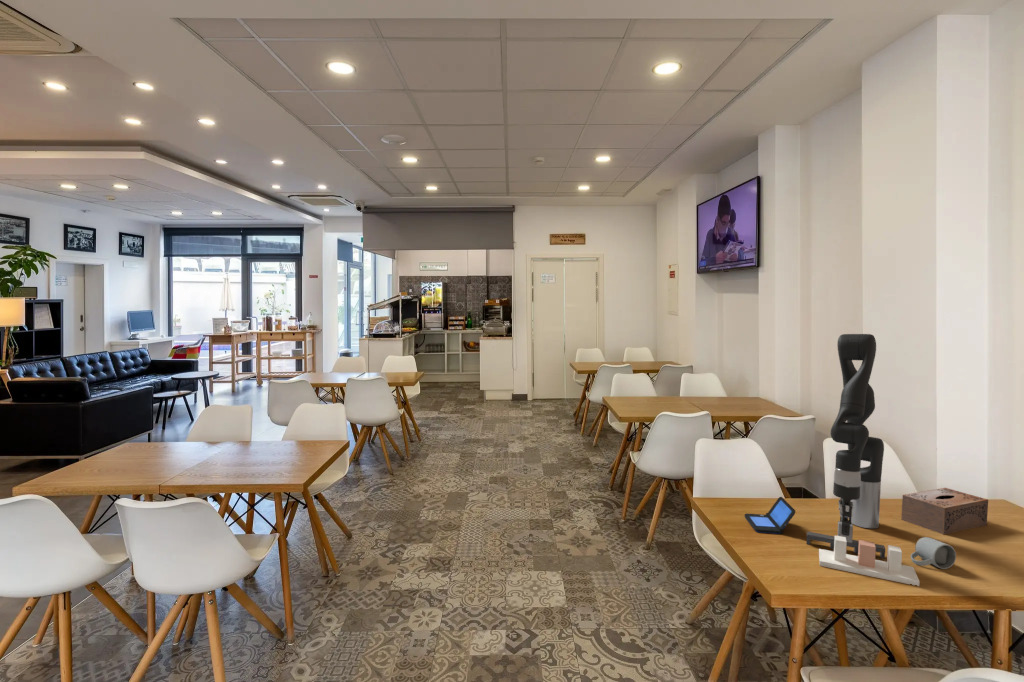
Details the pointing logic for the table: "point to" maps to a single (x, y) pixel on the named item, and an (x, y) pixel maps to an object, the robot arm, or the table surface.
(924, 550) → the ceramic mug
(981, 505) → the tissue box cover
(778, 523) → the handheld game console
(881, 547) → the gray bar
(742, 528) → the table surface
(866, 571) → the display stand
